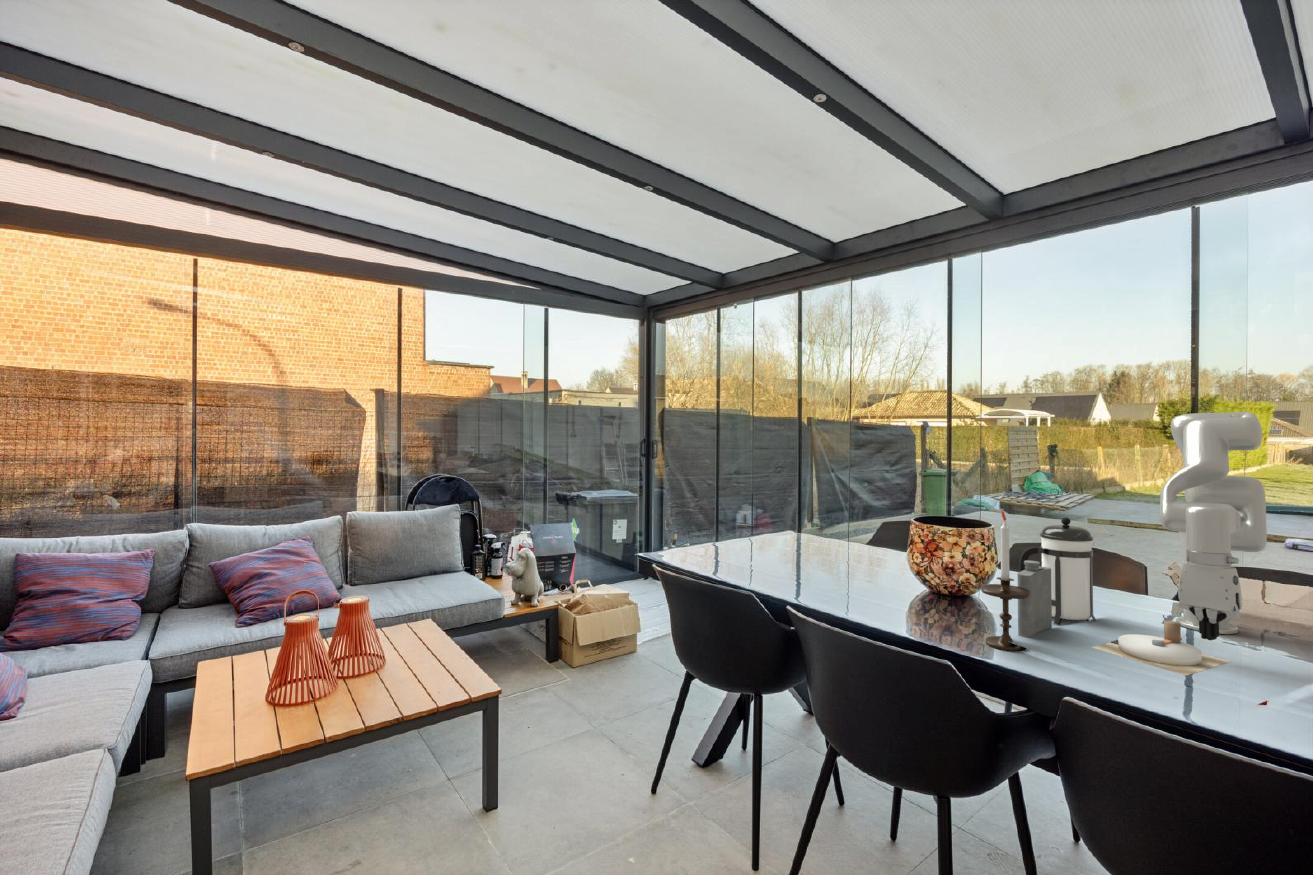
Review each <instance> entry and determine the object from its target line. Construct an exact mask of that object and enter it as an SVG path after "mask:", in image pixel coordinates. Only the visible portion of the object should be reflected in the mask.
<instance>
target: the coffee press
mask: <svg viewBox="0 0 1313 875" xmlns="http://www.w3.org/2000/svg"><path fill="white" fill-rule="evenodd" d="M1060 522H1061V523H1062V524H1060V525H1059V524H1055V525H1047V526H1045V527H1043V529H1042V531H1041V532H1039V537H1040V538H1041V539H1040V540H1041V545H1040V547H1036V546H1035V547H1034V546H1032V547H1028V548H1026V549H1025V550H1023V551H1022V553H1021V555H1020V557H1019V562H1018V573H1019V572H1020V571H1023V570H1026V568H1025V566H1026V565H1025V564H1024V561H1029V560H1028V559H1029V558H1030V557H1031V556H1032V555H1034V554H1035V555H1036V554H1041V567H1049V568H1051V600H1052V617H1054V619H1053V624H1054V625H1058V624H1059V625H1060V624H1061V625H1062V622H1063V620H1069V621H1086V622H1090V621H1091V620H1090V618H1092V620H1093V622H1097V621H1098V620H1097V618H1095V616H1094V598H1093V597H1094V591H1093V590H1094V588H1093V586H1094V585H1093V584H1094V582H1093V581H1094V580H1093V574H1094V573H1093V572H1094V571H1093V570H1094V569H1093V568H1094V567H1093V557H1094V550H1093V549H1092V548H1093V546H1097V543H1096V542H1095V540H1094V537H1093V535H1092V534H1091V532H1090V531H1089V530H1088V529H1086V528H1085V527H1084V528H1083V527H1080V526H1076V525H1075V526H1074V525H1070V524H1071V522H1072V521H1071V519H1070V518H1069V517H1062V518H1061V519H1060Z"/></svg>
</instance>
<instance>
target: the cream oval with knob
mask: <svg viewBox="0 0 1313 875" xmlns="http://www.w3.org/2000/svg"><path fill="white" fill-rule="evenodd" d="M1181 630H1182V628H1181V624H1180V623H1178V622H1176V621H1173V620H1164V621H1163V637H1162V636H1156V635H1147V634H1123V635H1120V636H1118V637H1117V638H1118V639H1117V640H1118V646H1119V649H1120V650H1122V651H1123V652H1125V653H1127V654H1130V655H1132V656H1135V657H1138V658H1142V659H1145V660H1149V661H1154V662H1159V663H1165V664H1173V665H1197V664H1200V663H1201V662H1202V654H1203V652H1202V650H1201V649H1199V648H1198V647H1196V646H1194V645H1192V644H1189V643H1186V642H1184V641H1183V638H1182V636H1181V635H1182V634H1181V633H1182V632H1181ZM1182 641H1183V642H1182Z"/></svg>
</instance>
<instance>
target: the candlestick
mask: <svg viewBox="0 0 1313 875" xmlns="http://www.w3.org/2000/svg"><path fill="white" fill-rule="evenodd" d="M1000 512H1001V517H1002V521H1003V523H1002V526H1000V577H996V578H995V579H997V580H998V581H999V580H1000V583H987V584H984V585H981V586H980V590H981V591H980V592H982V594H985V595H987V596H988V595H989V596H990V597H995V598H999V599H1001V600H1002V612H1001V613H1000V614H999V618H1000V619H1001V621H1002V623H1000V624H999V626H1000V627H1002V634H1001V635H993V636H992V635H991V636H987V637H985V644H986V645H987V646H988V647H991V648H993V649H995V650H998V651H999V650H1000V651H1005V652H1013V653H1019V652H1020V653H1021V652H1026V651H1027V650H1028V647H1025V646H1023V645H1019V644H1016V643H1013V642H1014V639H1013V638H1012V637H1011V635H1010V628H1012V625H1011V624H1010V621H1011V620H1012V618H1013V615H1012V614H1010V613H1009V612H1010V611H1009V610H1010V606H1009V605H1010V604H1009V601H1011V600H1018V599H1026V598H1029V597H1030V591H1029V590H1027V589H1025V588H1021V587H1018V585H1017V586H1015V585H1012V584H1011V582H1014V581H1015V579H1014V578H1011V576H1010V526H1008V525H1007V518H1006V515H1005V512H1004V510H1003V509H1002V508H1001V509H1000Z"/></svg>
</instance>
